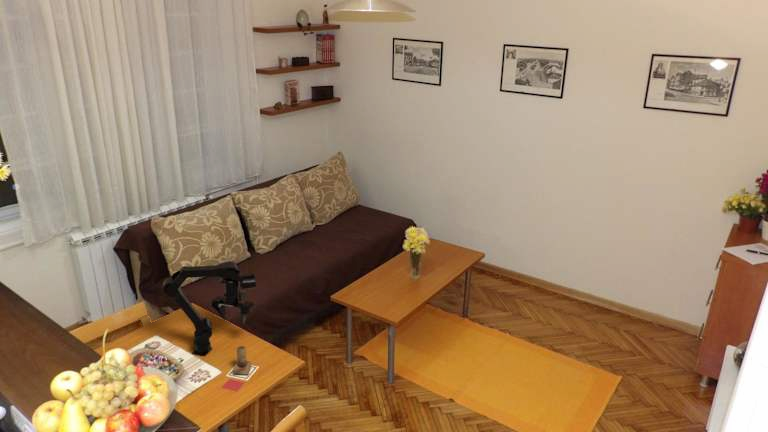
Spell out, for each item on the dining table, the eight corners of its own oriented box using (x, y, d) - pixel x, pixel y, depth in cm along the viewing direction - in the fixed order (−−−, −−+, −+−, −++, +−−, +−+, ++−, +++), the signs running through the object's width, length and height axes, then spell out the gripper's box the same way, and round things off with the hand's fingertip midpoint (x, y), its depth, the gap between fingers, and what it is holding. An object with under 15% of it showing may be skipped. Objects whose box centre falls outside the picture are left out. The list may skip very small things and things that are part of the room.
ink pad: (219, 390, 225) (219, 388, 225) (228, 380, 232) (228, 378, 231) (237, 394, 223) (237, 392, 223) (246, 383, 230) (246, 381, 229)
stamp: (233, 375, 233) (232, 352, 230) (237, 366, 239) (235, 344, 235) (247, 375, 233) (246, 353, 230) (251, 367, 239) (250, 345, 235)
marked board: (225, 377, 233) (225, 375, 233) (238, 364, 242) (237, 362, 242) (247, 382, 231) (247, 380, 230) (259, 368, 240) (259, 366, 239)
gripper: (260, 285, 250) (261, 316, 255) (222, 279, 255) (225, 309, 260) (247, 296, 240) (249, 328, 245) (209, 289, 245) (211, 321, 250)
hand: (234, 321), depth 250 cm, fingers open, 9 cm apart
